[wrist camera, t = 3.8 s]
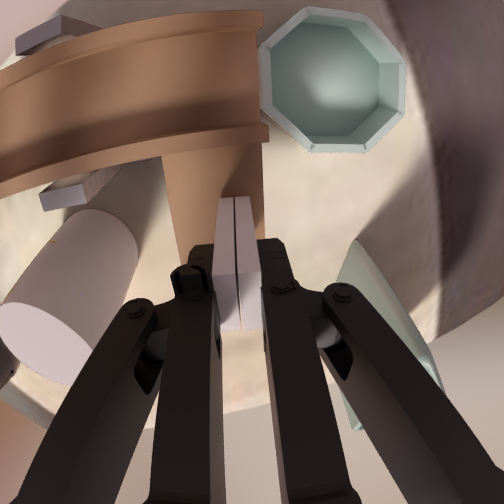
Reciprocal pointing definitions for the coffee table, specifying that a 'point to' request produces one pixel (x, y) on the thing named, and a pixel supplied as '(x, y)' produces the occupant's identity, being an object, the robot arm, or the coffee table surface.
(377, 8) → the coffee table surface
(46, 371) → the pale pink cylinder
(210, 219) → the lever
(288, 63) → the bowl
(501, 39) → the coffee table surface
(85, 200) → the fulcrum
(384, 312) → the planter
